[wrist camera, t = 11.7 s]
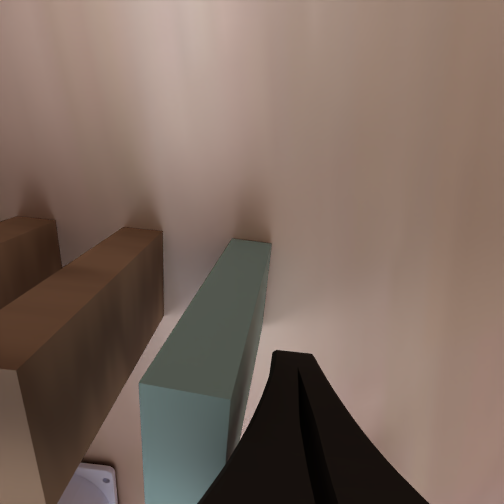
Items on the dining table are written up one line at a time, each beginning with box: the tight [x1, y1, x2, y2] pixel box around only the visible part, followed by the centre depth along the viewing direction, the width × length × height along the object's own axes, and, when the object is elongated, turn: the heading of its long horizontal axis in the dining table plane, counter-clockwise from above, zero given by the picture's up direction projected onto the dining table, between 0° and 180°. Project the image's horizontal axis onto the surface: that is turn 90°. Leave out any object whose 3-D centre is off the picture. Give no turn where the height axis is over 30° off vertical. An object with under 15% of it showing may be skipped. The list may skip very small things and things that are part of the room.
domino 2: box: [0, 227, 164, 504], centre depth 12 cm, size 5×2×10 cm, turn 175°
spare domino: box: [139, 238, 272, 504], centre depth 12 cm, size 5×2×10 cm, turn 175°
